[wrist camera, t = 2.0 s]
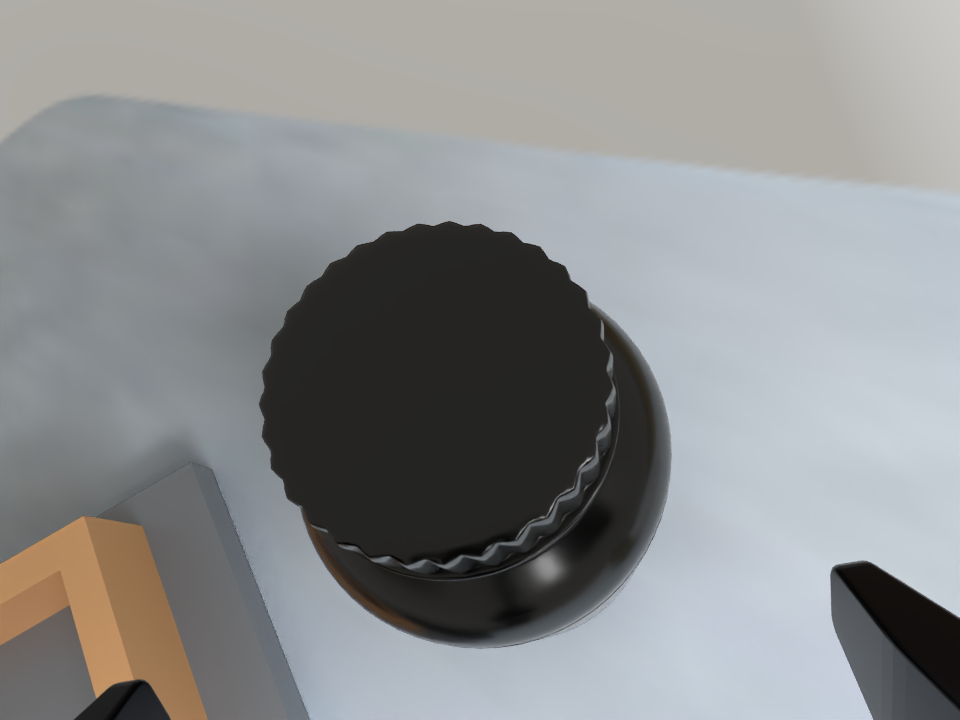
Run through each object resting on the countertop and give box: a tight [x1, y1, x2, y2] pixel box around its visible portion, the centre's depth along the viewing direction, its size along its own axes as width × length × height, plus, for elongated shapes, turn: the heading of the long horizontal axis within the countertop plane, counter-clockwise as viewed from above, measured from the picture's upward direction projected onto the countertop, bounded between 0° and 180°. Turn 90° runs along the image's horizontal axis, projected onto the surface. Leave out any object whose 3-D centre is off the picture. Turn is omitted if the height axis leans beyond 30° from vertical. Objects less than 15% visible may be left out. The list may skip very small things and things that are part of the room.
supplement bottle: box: [259, 221, 671, 648], centre depth 15 cm, size 7×7×12 cm
